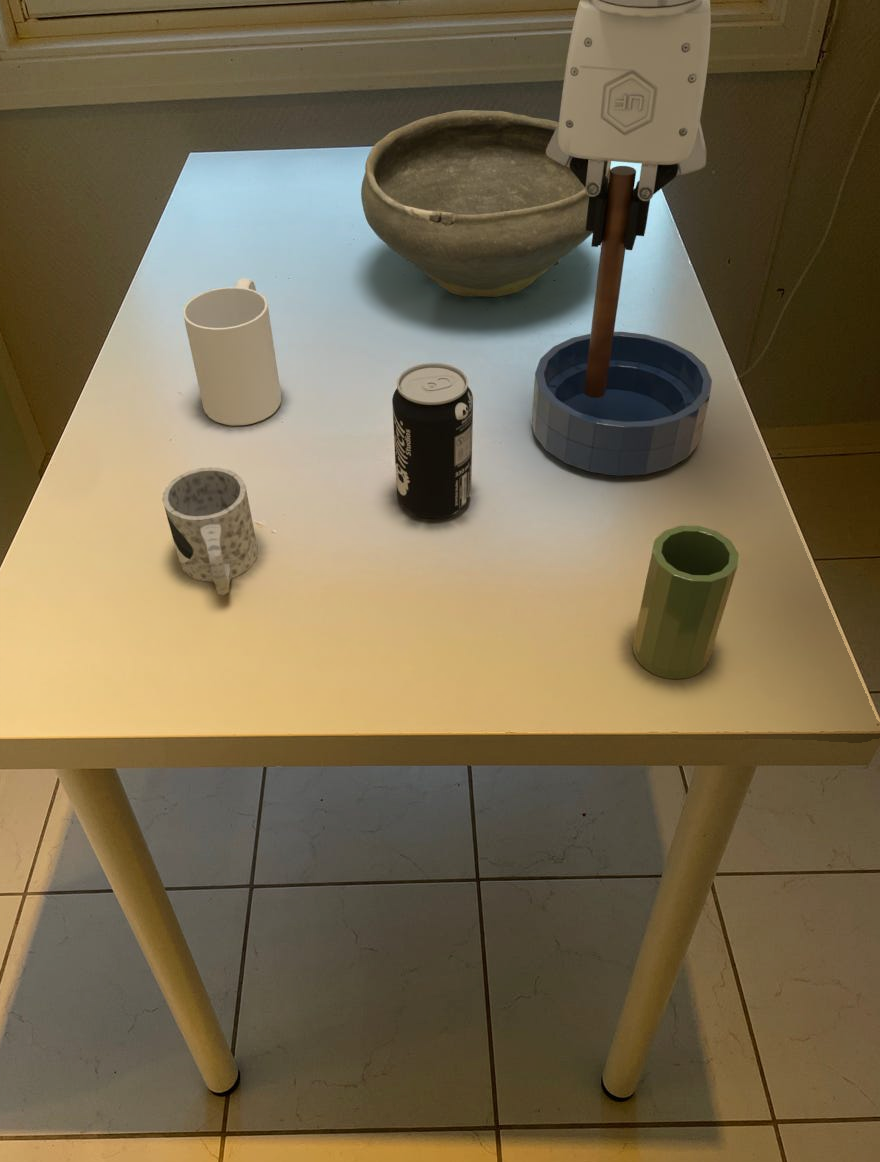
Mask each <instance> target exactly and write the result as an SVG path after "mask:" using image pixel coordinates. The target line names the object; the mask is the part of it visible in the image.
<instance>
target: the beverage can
mask: <svg viewBox="0 0 880 1162" xmlns="http://www.w3.org/2000/svg"><path fill="white" fill-rule="evenodd" d="M391 402H392V422H393V423H392V424H393V444H394V445H393V446H394V463H395V484H396V497H397V500H398V502H399V504H400V505H401V506H402V507H403V509H405V510H407V511H408V512H409V513H410V514H412V515H414V516H416V517H419V518H422V519H426V520H440V519H445V518H449V517H452V516H453V515H455V514H457V513H458V512H459V511H460V510H462V509H463V508H464V507H465V506H466V505H467V504H468V503H469V502H470V499H471V496H472V473H473V471H472V470H473V433H474V432H473V430H474V429H473V426H474V394H473V391H472V390H471V388H470V386H469V379H468V376H467V374H466V373H465V372H464V371H462V370H461V369H460V368H458V367H456V366H454V365H452V364H448V363H442V362H425V363H420V364H416V365H413V366H411V367H409V368H406V369H405V370H404V371H402V372H401V373H400V375H399V376H398V378H397V380H396V389H395V390H394V392H393V395H392V399H391Z"/></svg>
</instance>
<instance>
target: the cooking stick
mask: <svg viewBox="0 0 880 1162" xmlns="http://www.w3.org/2000/svg"><path fill="white" fill-rule="evenodd" d="M610 169H611V170H610V177H609V185H608V197H607V206H606V214H605V222H604V230H603V239H602V243H601V246H600V253H599V262H598V271H597V279H596V285H595V293H594V294H595V296H594V303H593V310H592V311H593V312H592V321H591V329H590V334H591V336H590V344H589V353H588V361H587V369H586V378H585V386H584V393H585V395H586V396H588V397H591V398H600V397H603V396H604V395H605V393H606V386H607V379H608V371H609V364H610V357H611V350H612V343H613V335H614V332H615V328H616V327H615V326H616V320H617V313H618V308H619V307H618V306H619V300H620V299H619V298H620V292H621V285H622V284H621V283H622V277H623V270H624V264H625V263H624V262H625V256H626V248H624V240H625V233H626V226H627V218H628V211H629V204H630V200H631V197H632V196H633V191H634V188H635V183H636V175H637V169H636V168H634V167H632V166H628V165H617V166H614V167H612V168H610Z"/></svg>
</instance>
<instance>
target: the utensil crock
mask: <svg viewBox="0 0 880 1162" xmlns="http://www.w3.org/2000/svg"><path fill="white" fill-rule="evenodd" d="M739 556H740V555H739V552H738V550H737V549H736V547H735V545H734V544H733V542H732V540H730V539H729V538H727V537H726V536H725V535H723V534H722V533H720V532H719V531H717V530H714V529H710V528H708V527H704V526H701V525H678V526H675V527H672V528H669V529H665V530H664V531H663V532H662V533H661V534H660V535H658V537H656V538H655V540H654V541H653V546H652V551H651V555H650V560H649V565H648V570H647V574H646V579H645V585H644V589H643V595H642V599H641V603H640V607H639V608H640V609H639V611H638V617H637V621H636V622H637V623H636V625H635V626H636V627H635V631H634V637H633V642H632V652H633V655H634V657H635V659H636V661H637V662H638V663H639V665H641V667H642V668H644V669H645V670H646V671H647V672H649V673H651V674H653V675H656V676H658V677H660V678H665V679H671V680H682V679H687V678H692V677H694V676H696V675H698V674H699V673H700V672H702V671H703V670H704V669H705V668H706V666H707V664H708V662H709V658H710V657H711V655H712V653H713V652H712V651H713V649H714V645H715V642H716V639H717V636H718V632H719V628H720V625H721V622H722V619H723V615H724V612H725V609H726V606H727V603H728V599H729V597H730V593H731V589H732V586H733V582H734V579H735V576H736V573H737V569H738V566H739Z"/></svg>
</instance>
